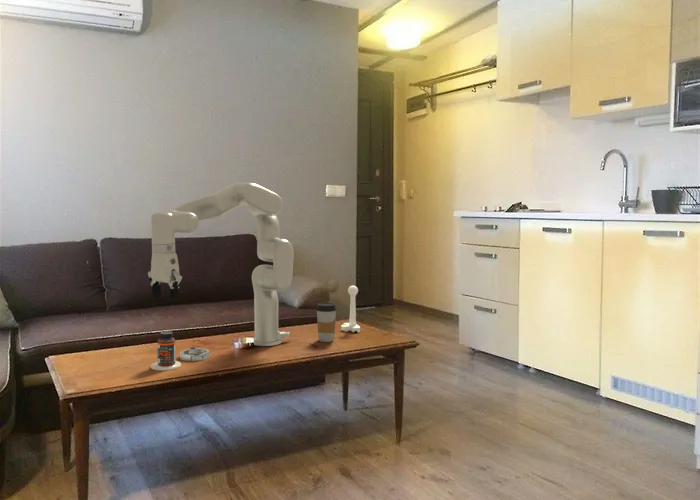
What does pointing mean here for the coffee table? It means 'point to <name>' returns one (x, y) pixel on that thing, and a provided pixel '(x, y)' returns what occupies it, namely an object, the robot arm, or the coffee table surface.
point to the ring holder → (198, 354)
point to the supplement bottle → (166, 349)
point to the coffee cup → (326, 321)
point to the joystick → (351, 312)
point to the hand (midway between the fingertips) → (165, 298)
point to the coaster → (163, 368)
